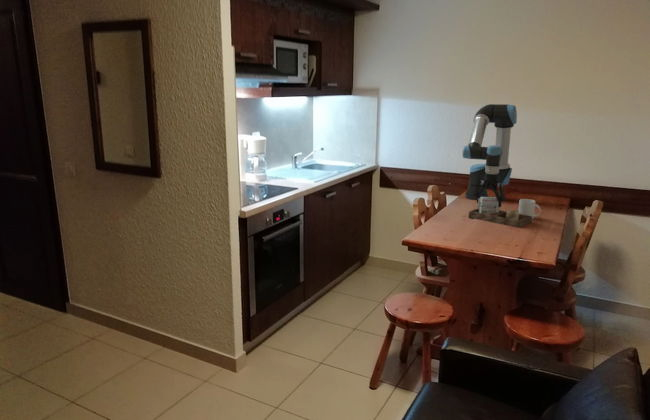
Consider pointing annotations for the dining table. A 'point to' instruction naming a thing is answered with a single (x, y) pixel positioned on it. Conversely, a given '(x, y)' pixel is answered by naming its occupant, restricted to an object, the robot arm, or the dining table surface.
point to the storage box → (501, 218)
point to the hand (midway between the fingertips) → (488, 210)
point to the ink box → (488, 205)
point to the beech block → (512, 215)
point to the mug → (528, 207)
